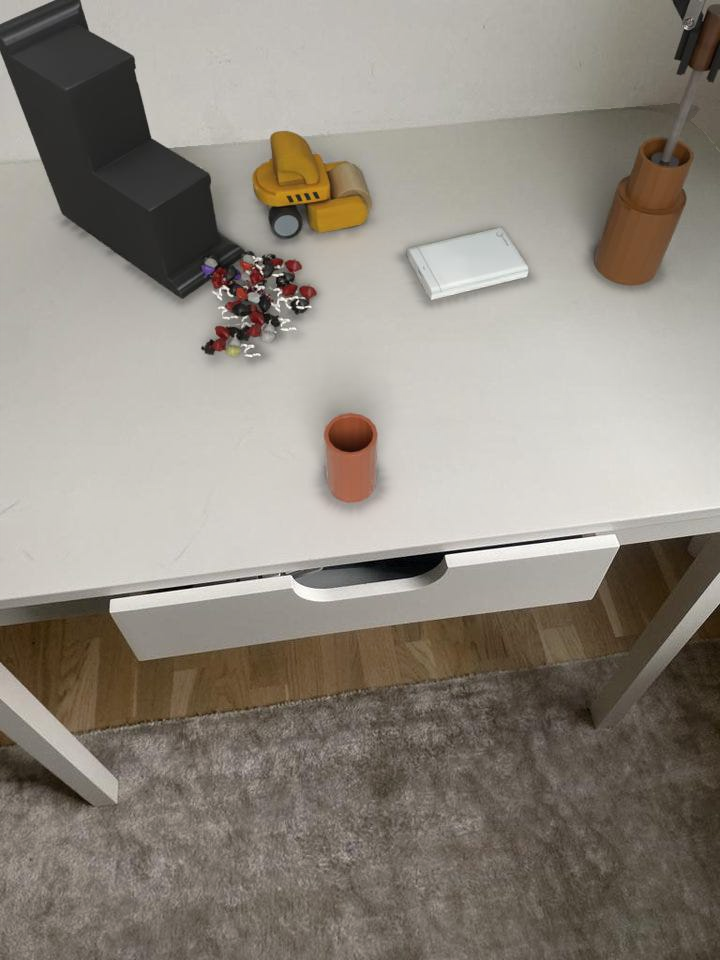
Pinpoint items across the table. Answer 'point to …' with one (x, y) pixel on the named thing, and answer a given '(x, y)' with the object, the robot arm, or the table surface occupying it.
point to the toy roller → (309, 188)
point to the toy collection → (253, 299)
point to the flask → (643, 216)
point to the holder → (351, 457)
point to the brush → (693, 80)
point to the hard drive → (467, 263)
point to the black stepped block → (110, 149)
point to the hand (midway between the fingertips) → (698, 70)
